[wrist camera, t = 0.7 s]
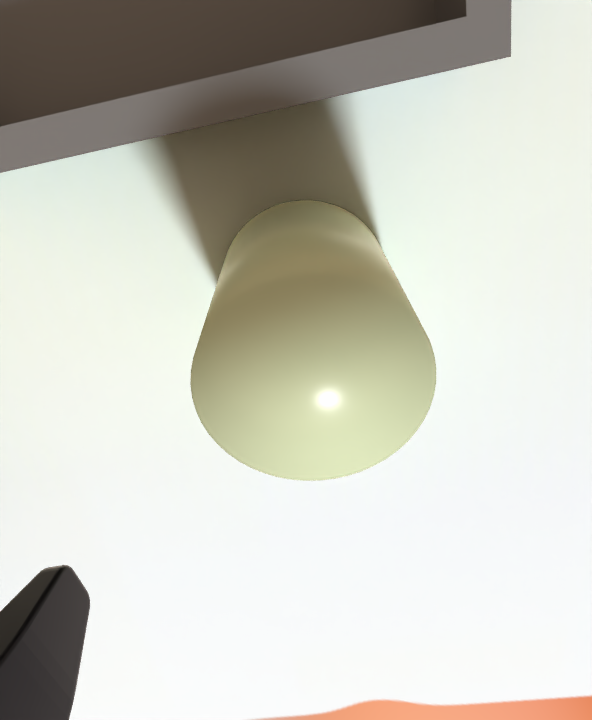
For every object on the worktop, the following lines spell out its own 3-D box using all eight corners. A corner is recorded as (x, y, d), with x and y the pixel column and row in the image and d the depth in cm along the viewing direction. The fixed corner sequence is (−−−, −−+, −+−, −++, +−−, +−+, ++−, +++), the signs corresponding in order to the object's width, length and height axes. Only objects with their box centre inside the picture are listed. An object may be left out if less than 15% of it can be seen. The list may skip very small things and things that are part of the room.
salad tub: (376, 183, 17) (427, 248, 11) (394, 340, 20) (442, 461, 14) (201, 219, 17) (155, 302, 11) (245, 367, 20) (227, 495, 14)
